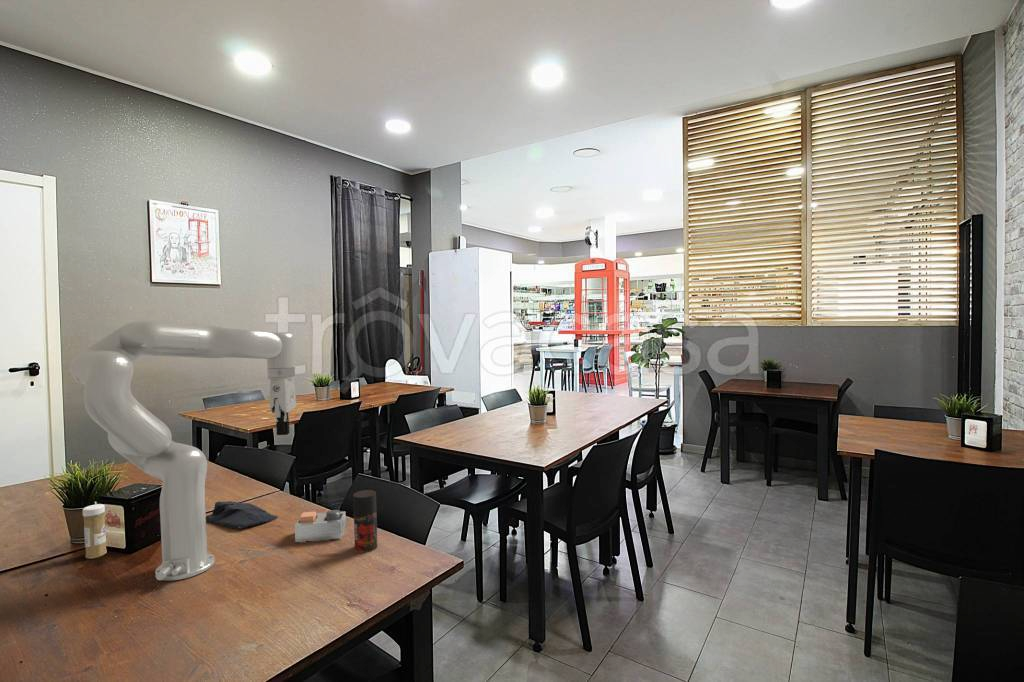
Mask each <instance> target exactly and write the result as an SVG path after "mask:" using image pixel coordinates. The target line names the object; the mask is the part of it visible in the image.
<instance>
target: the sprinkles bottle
mask: <svg viewBox="0 0 1024 682" xmlns="http://www.w3.org/2000/svg"><path fill="white" fill-rule="evenodd" d="M105 513H106V508H105V504H102V503H96V504H92V505H87V506H85V507H84V508H82V516H83V524H84V527H83V529H84V531H83V533H84V535H83V536H84V547H85V556H84V557H85V558H86V559H88V560H90V559H91V560H92V559H97V558H100V557H102V556H104V555H105V554H107V551H108V550H107V537H106V533H107V532H106V523H105Z"/></svg>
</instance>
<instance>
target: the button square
mask: <svg viewBox="0 0 1024 682" xmlns="http://www.w3.org/2000/svg"><path fill="white" fill-rule="evenodd" d="M316 513H317V511H315V510H314V511H305V512H302V513H301V515H300V517H299V518H300V523H303V522H315V520H316Z"/></svg>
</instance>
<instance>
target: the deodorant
mask: <svg viewBox="0 0 1024 682" xmlns="http://www.w3.org/2000/svg"><path fill="white" fill-rule="evenodd" d="M352 499H353V500H352V501H353V525H354V526H353V529H354V530H353V531H354V532H353V533H354V551H355V552H357V553H363V554H364V553H369V552H372V551H375V550H376V549H377V548H378V520H377V519H378V518H377V515H378V514H377V491H375V490H371V489H364V490H358V491H356V492H354V493H353V495H352Z"/></svg>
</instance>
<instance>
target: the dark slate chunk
mask: <svg viewBox="0 0 1024 682" xmlns="http://www.w3.org/2000/svg"><path fill="white" fill-rule="evenodd" d="M271 514H272V513H270V512H267V510H264V509H263V508H261V507H259V506H256V505H255V504H252V503H249V502H248V503H247V502H237V501H216V502H214V509H213V510H212V514H209V515H206V520H207V521H206V522H208V523H209V522H210V523H212V524H215V525H217V524H221V526H224V527H226V526H227V528H228V526H229V528H231V529H236V528H238V529H239V530H243V529H246V528H249V526H250V527H253V526H255V525H256V524H257V525H261V523H262V524H264V522H265V523H268V522H269V523H270V522H272V520H273V521H274V519H275V520H276V519H278V518H277V517H278V516H277V515H274V514H272V515H271ZM257 525H256V526H257ZM238 529H237V530H238Z"/></svg>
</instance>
